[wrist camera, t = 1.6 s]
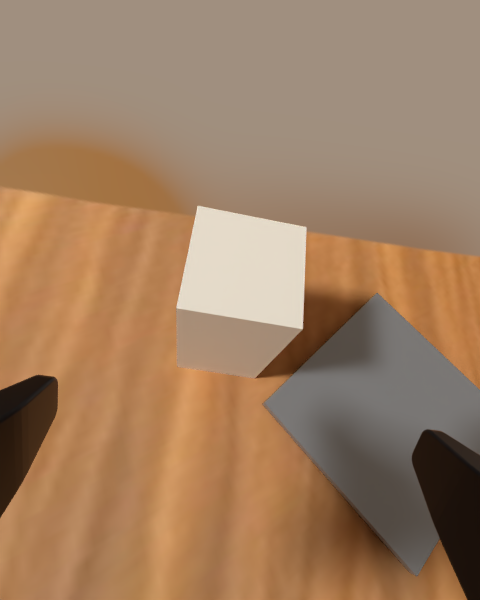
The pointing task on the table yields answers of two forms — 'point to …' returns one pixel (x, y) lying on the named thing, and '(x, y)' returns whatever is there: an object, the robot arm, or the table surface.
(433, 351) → the slate coaster
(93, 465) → the table surface
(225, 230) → the cream block
